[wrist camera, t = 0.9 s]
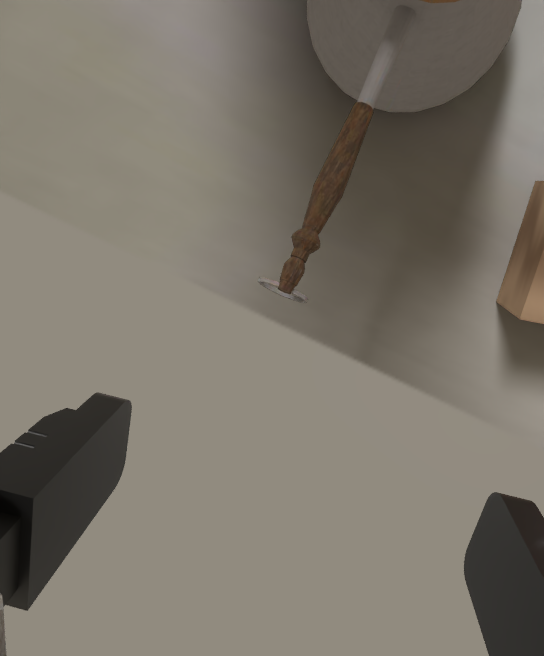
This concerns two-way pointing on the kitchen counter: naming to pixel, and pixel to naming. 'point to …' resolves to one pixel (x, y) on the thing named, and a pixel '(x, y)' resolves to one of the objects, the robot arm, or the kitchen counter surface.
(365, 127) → the coffee pot
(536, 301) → the walnut block
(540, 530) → the robot arm
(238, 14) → the kitchen counter surface
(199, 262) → the kitchen counter surface
